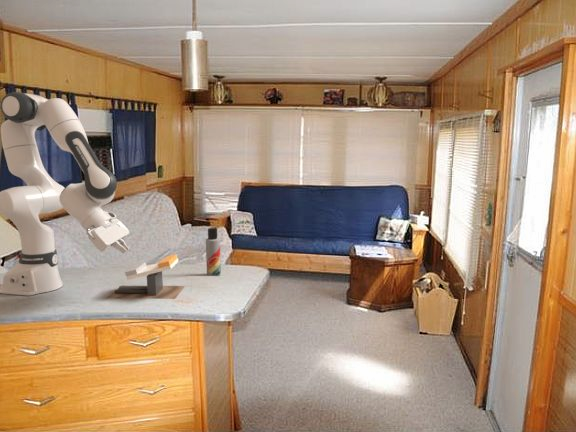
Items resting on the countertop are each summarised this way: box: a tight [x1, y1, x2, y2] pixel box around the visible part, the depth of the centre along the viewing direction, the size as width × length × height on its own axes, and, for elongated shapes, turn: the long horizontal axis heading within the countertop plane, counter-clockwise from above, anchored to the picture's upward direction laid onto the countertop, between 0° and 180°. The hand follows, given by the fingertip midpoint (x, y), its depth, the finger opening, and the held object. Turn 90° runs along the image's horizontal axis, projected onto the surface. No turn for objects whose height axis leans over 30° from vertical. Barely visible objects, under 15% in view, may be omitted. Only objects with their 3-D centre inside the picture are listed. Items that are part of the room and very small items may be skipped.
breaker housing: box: [146, 271, 164, 296], centre depth 175 cm, size 3×8×7 cm, turn 178°
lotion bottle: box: [205, 226, 222, 277], centre depth 199 cm, size 6×6×20 cm
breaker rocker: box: [124, 253, 179, 281], centre depth 174 cm, size 16×10×3 cm, turn 87°
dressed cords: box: [114, 285, 148, 294], centre depth 175 cm, size 12×5×1 cm, turn 87°
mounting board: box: [106, 284, 186, 300], centre depth 175 cm, size 24×14×2 cm, turn 87°
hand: (126, 251), depth 173 cm, fingers closed
